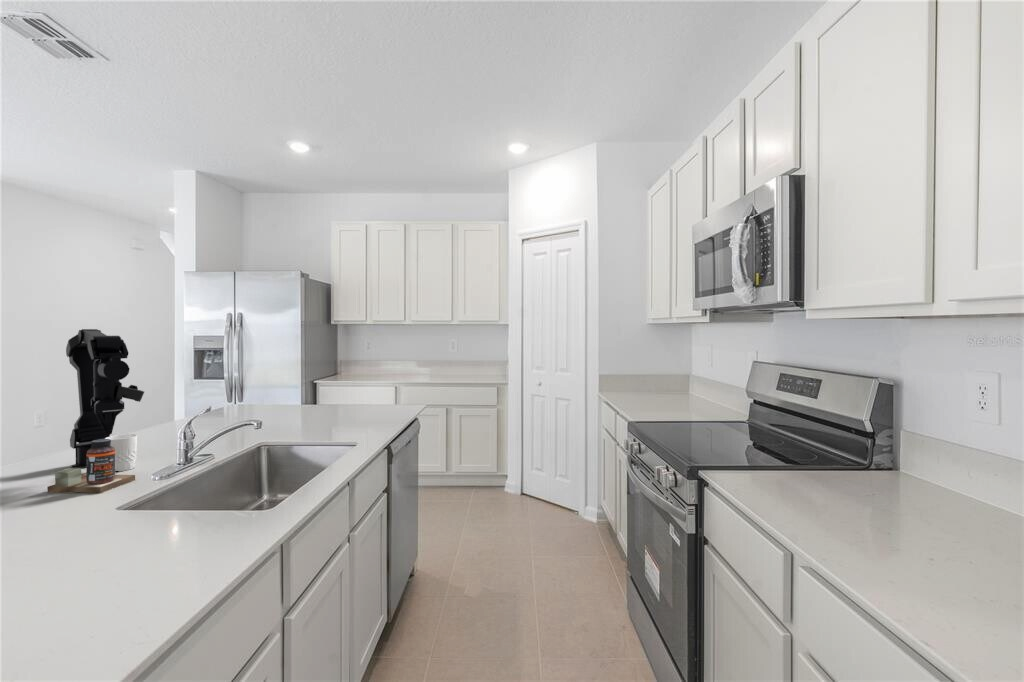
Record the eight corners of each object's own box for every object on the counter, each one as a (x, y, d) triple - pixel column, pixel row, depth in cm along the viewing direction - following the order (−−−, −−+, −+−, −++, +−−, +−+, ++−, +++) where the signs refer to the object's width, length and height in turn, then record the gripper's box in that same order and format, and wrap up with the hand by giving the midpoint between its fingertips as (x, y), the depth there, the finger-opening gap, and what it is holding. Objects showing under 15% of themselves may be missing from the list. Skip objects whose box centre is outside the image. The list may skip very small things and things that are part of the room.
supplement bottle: (93, 486, 124) (93, 443, 124) (81, 483, 127) (81, 441, 127) (120, 480, 130) (119, 439, 130) (108, 477, 132) (107, 436, 132)
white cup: (110, 467, 148) (109, 435, 148) (141, 464, 152) (140, 433, 151) (100, 474, 141) (100, 440, 141) (133, 470, 144) (133, 438, 144)
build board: (47, 492, 125) (47, 473, 125) (86, 479, 136) (86, 461, 136) (100, 493, 124) (100, 473, 124) (135, 480, 135) (135, 462, 135)
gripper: (146, 378, 137) (147, 432, 137) (137, 375, 150) (138, 424, 150) (95, 381, 129) (95, 438, 129) (90, 377, 142) (91, 429, 142)
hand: (107, 432), depth 138 cm, fingers open, 9 cm apart
